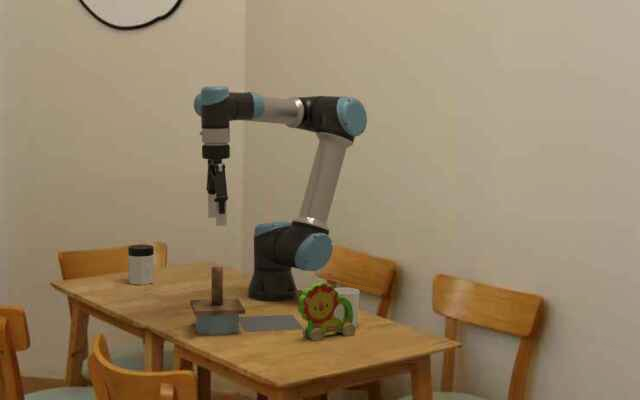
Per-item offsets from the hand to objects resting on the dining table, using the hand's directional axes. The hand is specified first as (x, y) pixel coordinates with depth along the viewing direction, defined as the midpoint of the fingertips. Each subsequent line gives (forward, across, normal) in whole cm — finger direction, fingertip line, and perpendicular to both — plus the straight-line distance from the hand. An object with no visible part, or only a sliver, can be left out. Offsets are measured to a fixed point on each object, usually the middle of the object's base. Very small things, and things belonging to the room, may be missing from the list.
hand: (217, 221), depth 261 cm
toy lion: (+29, +22, +24) cm, 44 cm away
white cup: (+29, +12, +33) cm, 45 cm away
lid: (+22, +9, -2) cm, 24 cm away
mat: (+28, +6, +13) cm, 32 cm away
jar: (+29, -55, -17) cm, 65 cm away
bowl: (+28, +9, -2) cm, 30 cm away
